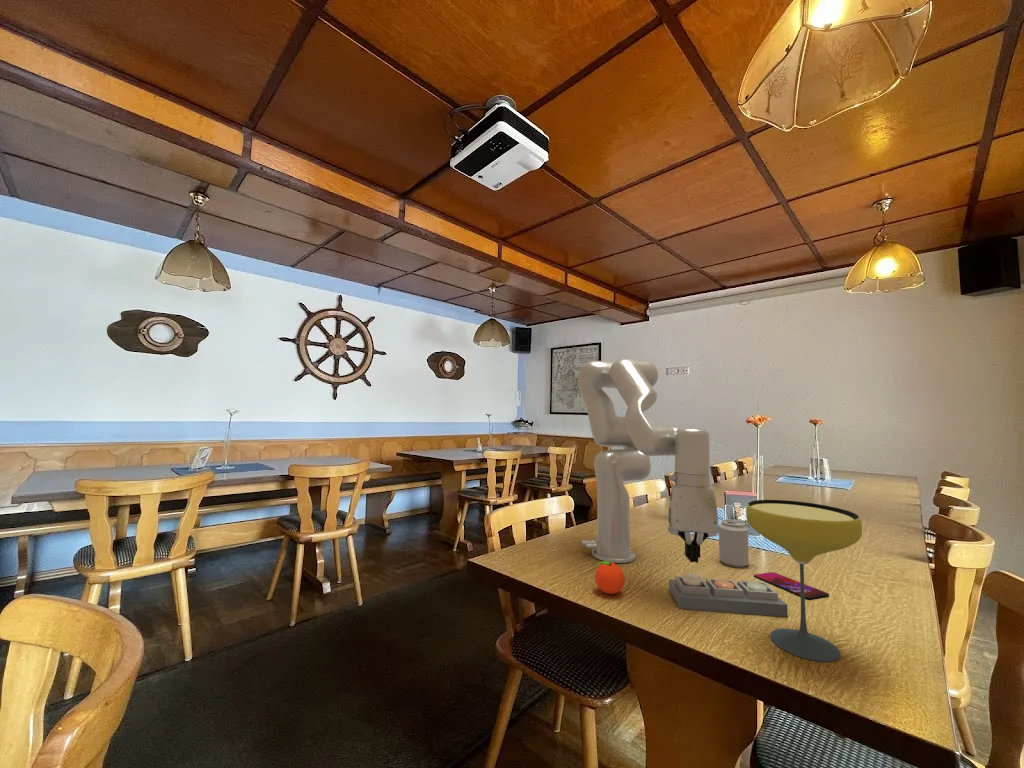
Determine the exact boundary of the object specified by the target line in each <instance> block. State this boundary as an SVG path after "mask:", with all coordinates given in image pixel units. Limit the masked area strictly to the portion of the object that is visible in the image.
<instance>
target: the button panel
mask: <svg viewBox="0 0 1024 768" xmlns="http://www.w3.org/2000/svg"><path fill="white" fill-rule="evenodd" d="M674 578H675V579H672V578H669V579H668V591H669V592H670V594H671V596H672V598H673V599H674V601H675V604H677V606H678V608H679V609H680V610H681V609H682V610H693V611H705V612H717V613H729V614H730V613H732V614H741V615H742V614H744V615H755V616H757V615H758V616H769V617H780V618H781V617H782V618H788V617H789V616H788V615H789V614H788V604H787V603H786V602H785V601H783V600H782V599H781V598H780V597H779V596H778V595H779V594H778V592H777V591H776V590H774V589H773V588H772V587H771V586H770V585H769V584H768V583H766V582H764V581H756V582H757V583H761V584H763V585H765V586H766V587H767V592H766V591H752V590H749V589H748V588H747V583H748V582H753V581H751V580H749V581H747V580H737V583H736V582H735V581H734V580H733V579H724V580H725V581H729V582H731V583H733V584H734V589H724V588H716V587H715V585H714V581H715V580H723V579H722V578H721V579H719V578H708V577H707V578H705V581H704V579H703V578H702V577H701V583H702V586H701V587H695V586H686V585H684V584H683V576H677V575H675V577H674Z"/></svg>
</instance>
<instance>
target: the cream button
mask: <svg viewBox="0 0 1024 768" xmlns="http://www.w3.org/2000/svg"><path fill="white" fill-rule="evenodd" d="M682 577H683V584H684V585H686V586H695V587H701V586H702V583H701V578H702V577H701V576H700V575H698V574H695V573H684V574H682Z"/></svg>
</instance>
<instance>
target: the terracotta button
mask: <svg viewBox="0 0 1024 768" xmlns="http://www.w3.org/2000/svg"><path fill="white" fill-rule="evenodd" d="M725 580H726V579H722V580H715V581H714V585H715V587H716V588H724V589H734V584H733V583H731V582H729V581H725Z"/></svg>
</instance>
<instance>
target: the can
mask: <svg viewBox="0 0 1024 768" xmlns="http://www.w3.org/2000/svg"><path fill="white" fill-rule="evenodd" d="M718 553H719V554H718V555H719V558H718V559H719V560H720V561H721V563H723V564H724V565H725V566H728V567H732V568H745V567H746V566H748V565H749V563H750V561H749V559H750V558H749V529H748V527H747V526H746V523H745V522H744V521H741V520H737V519H721V521H720V524H718Z"/></svg>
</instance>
